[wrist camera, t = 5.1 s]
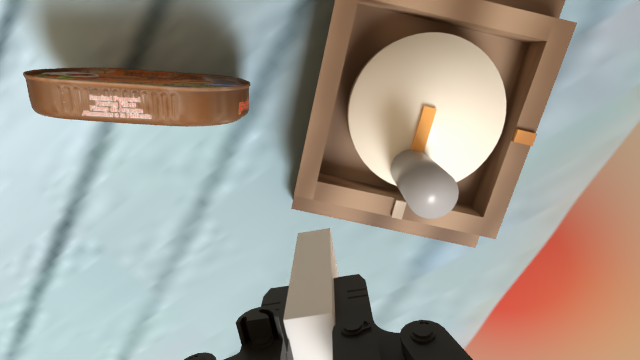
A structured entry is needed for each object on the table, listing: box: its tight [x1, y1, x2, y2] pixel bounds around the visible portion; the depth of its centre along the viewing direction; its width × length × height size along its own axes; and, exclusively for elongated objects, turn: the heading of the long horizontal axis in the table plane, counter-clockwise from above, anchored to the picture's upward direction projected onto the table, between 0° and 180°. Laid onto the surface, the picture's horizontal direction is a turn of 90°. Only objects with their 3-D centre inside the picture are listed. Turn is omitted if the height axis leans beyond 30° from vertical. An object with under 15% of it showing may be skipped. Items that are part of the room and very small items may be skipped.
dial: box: [347, 32, 506, 219], centre depth 25 cm, size 11×11×8 cm
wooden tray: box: [291, 0, 577, 248], centre depth 30 cm, size 16×20×5 cm
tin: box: [23, 68, 250, 126], centre depth 28 cm, size 15×3×8 cm, turn 86°
